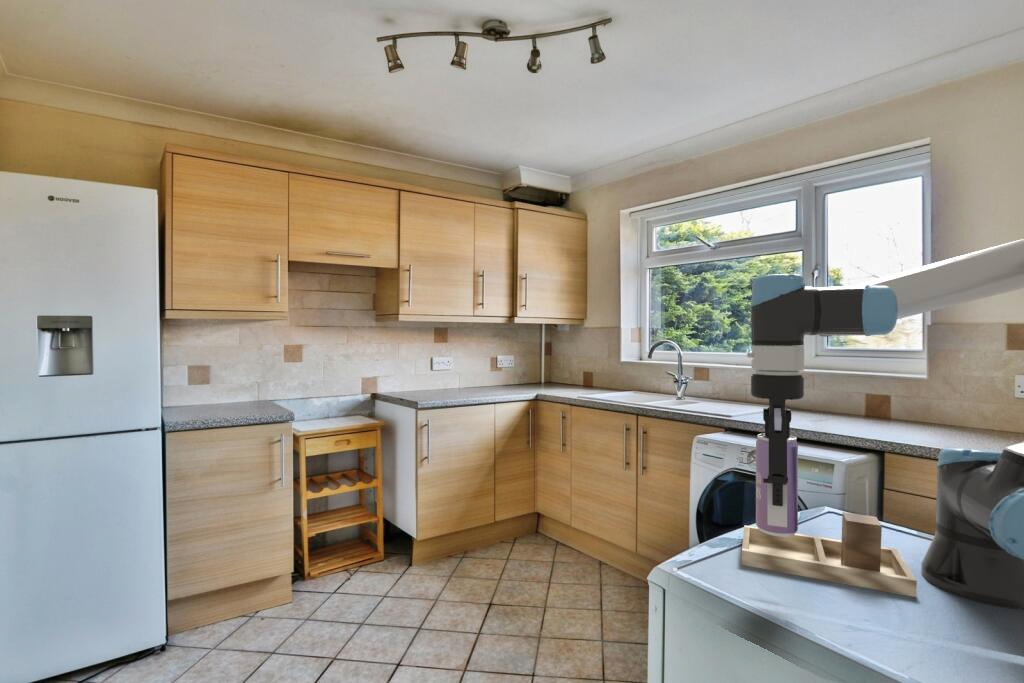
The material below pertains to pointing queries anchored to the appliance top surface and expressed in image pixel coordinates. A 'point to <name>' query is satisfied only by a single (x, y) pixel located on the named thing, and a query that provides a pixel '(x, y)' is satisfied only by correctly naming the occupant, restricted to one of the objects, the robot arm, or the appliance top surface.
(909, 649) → the appliance top surface
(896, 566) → the rack
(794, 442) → the beverage can
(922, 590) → the appliance top surface
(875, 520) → the walnut block
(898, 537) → the appliance top surface
